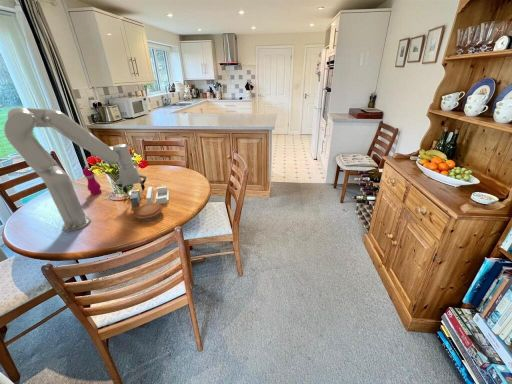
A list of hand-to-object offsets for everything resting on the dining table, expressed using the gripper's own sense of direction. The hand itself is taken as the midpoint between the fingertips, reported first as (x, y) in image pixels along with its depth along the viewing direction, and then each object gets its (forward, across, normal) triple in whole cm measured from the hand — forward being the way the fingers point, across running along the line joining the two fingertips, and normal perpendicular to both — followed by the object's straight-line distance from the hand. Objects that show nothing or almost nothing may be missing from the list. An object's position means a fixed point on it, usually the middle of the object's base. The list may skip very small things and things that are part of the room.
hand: (135, 191), depth 146 cm
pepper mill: (+7, -29, +22) cm, 37 cm away
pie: (+7, +8, -20) cm, 23 cm away
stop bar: (+7, -1, 0) cm, 7 cm away
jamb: (+7, +12, 0) cm, 15 cm away
